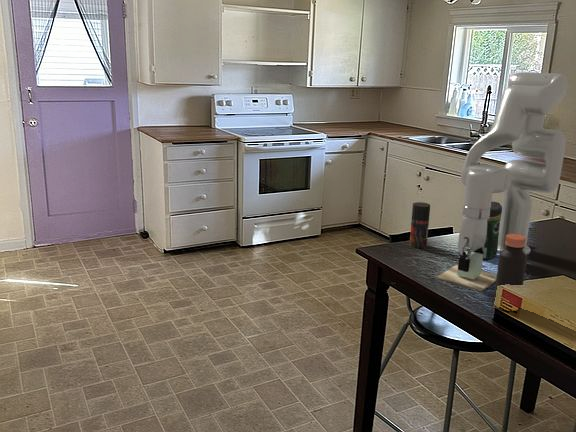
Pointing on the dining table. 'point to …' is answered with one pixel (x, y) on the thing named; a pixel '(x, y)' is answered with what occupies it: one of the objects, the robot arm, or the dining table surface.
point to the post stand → (477, 283)
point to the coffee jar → (492, 231)
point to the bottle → (511, 262)
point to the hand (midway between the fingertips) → (470, 266)
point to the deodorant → (419, 225)
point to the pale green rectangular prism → (473, 266)
